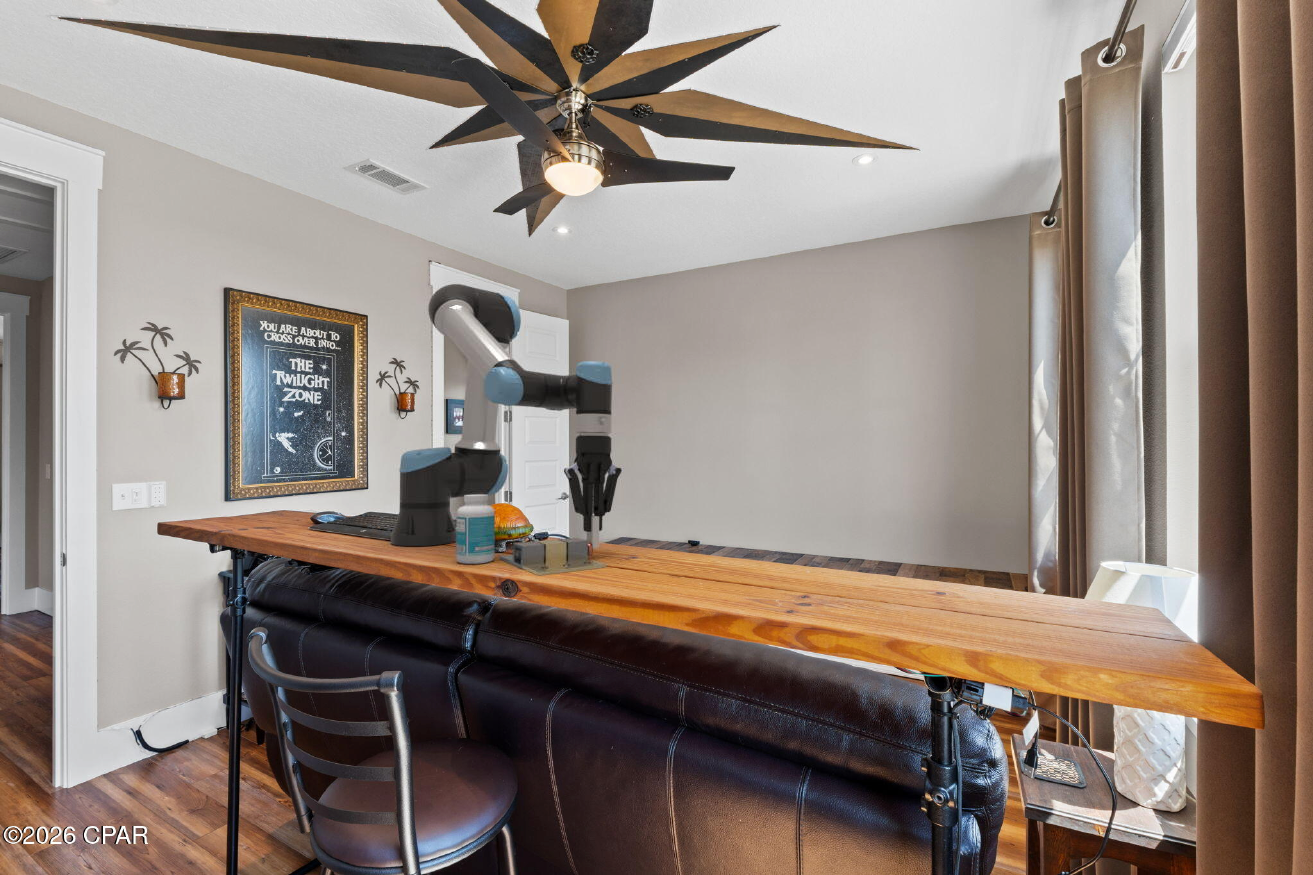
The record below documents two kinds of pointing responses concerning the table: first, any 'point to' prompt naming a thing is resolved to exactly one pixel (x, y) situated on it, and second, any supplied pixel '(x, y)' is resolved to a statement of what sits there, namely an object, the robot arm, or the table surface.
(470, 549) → the pill bottle
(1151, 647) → the table surface
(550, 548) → the three blocks on plate
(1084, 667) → the table surface
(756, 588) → the table surface
